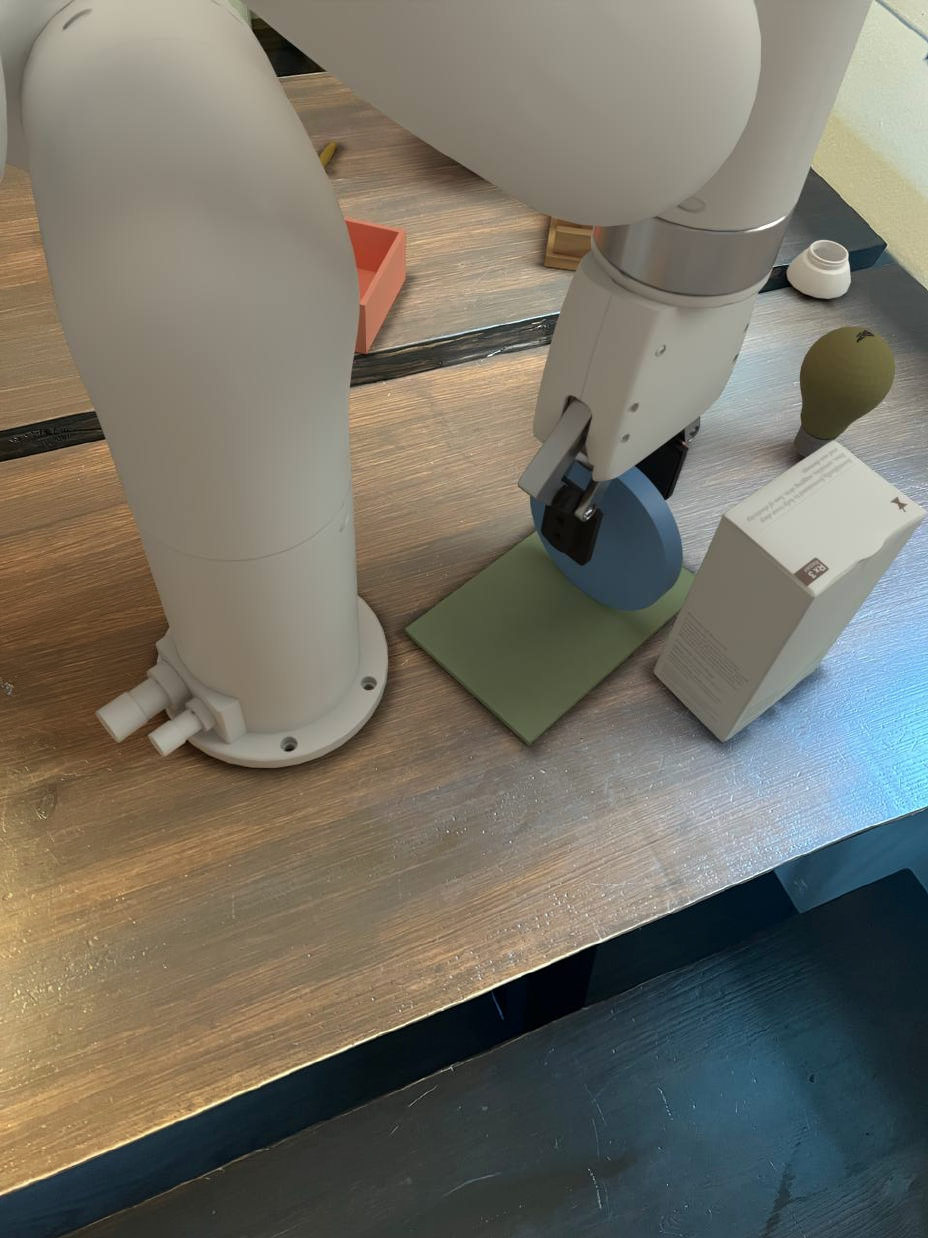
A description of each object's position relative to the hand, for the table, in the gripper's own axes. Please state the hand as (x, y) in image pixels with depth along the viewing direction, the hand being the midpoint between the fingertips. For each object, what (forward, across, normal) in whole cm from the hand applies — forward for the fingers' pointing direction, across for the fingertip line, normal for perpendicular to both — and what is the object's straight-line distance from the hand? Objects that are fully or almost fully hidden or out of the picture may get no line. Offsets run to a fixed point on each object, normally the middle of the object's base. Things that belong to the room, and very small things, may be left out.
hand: (607, 513), depth 53 cm
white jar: (+7, -38, -8) cm, 39 cm away
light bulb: (+7, -20, +3) cm, 22 cm away
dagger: (+7, -15, -45) cm, 48 cm away
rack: (+7, -28, -22) cm, 37 cm away
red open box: (+7, -4, -35) cm, 36 cm away
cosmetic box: (+7, -2, +10) cm, 12 cm away
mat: (+7, +2, 0) cm, 7 cm away
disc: (+1, 0, 0) cm, 1 cm away
